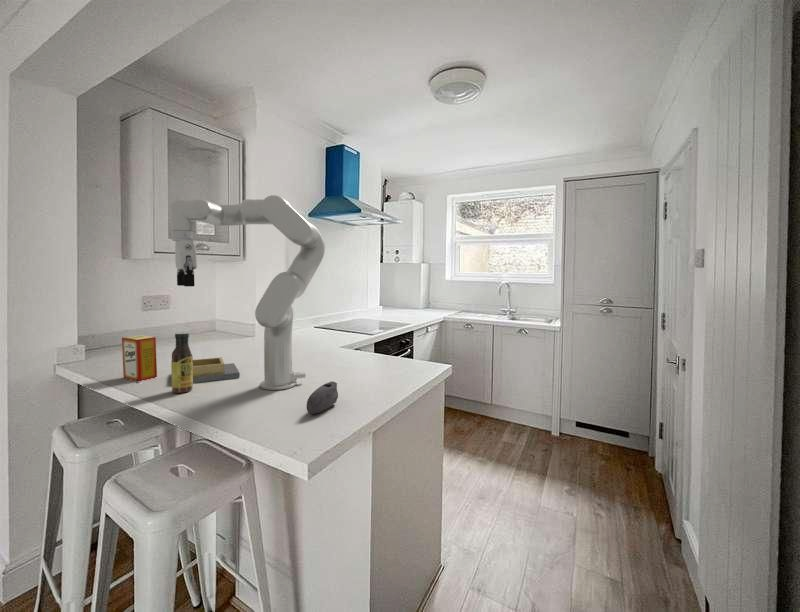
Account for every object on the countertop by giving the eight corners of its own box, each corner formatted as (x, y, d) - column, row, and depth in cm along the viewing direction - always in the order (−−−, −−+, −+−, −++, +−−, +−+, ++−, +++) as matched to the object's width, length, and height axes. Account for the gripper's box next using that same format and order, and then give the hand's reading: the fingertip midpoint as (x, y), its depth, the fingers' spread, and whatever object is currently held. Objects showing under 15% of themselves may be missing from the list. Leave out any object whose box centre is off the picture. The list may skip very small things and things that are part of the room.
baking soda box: (157, 377, 144) (155, 336, 143) (139, 381, 138) (137, 338, 137) (141, 374, 148) (139, 334, 147) (123, 378, 142) (121, 336, 141)
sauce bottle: (183, 394, 124) (181, 335, 122) (167, 393, 125) (165, 334, 123) (197, 388, 130) (196, 332, 129) (182, 387, 131) (180, 331, 130)
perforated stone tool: (314, 419, 104) (314, 395, 103) (299, 416, 106) (299, 392, 105) (342, 403, 118) (342, 381, 117) (328, 400, 120) (328, 379, 119)
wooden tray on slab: (234, 367, 160) (233, 355, 160) (239, 377, 145) (239, 363, 144) (174, 373, 149) (173, 360, 149) (173, 385, 134) (172, 370, 133)
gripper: (203, 236, 127) (204, 286, 128) (190, 239, 139) (191, 285, 141) (177, 234, 122) (179, 286, 123) (166, 237, 134) (168, 285, 136)
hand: (185, 285), depth 132 cm, fingers open, 9 cm apart
